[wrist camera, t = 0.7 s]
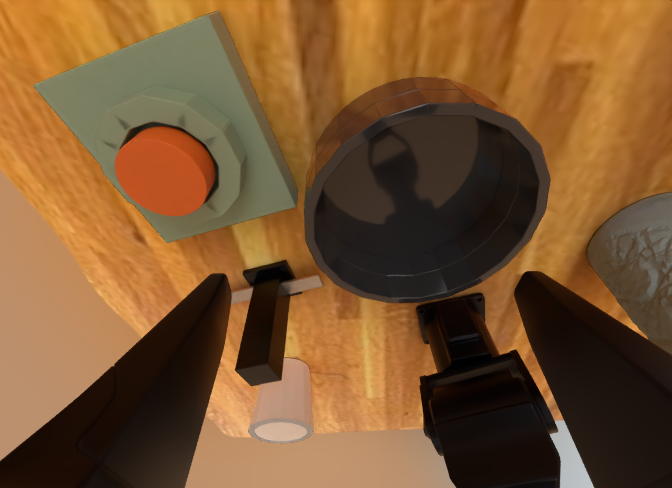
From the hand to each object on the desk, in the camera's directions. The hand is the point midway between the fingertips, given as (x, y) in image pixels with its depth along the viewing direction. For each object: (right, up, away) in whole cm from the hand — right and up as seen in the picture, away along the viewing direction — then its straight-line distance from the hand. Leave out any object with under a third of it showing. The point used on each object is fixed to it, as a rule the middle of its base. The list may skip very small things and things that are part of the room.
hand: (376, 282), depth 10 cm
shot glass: (-7, -14, +29) cm, 34 cm away
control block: (-10, +8, +11) cm, 17 cm away
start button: (-10, +5, +8) cm, 14 cm away
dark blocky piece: (-7, -2, +19) cm, 20 cm away
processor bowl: (+4, +5, +13) cm, 15 cm away
